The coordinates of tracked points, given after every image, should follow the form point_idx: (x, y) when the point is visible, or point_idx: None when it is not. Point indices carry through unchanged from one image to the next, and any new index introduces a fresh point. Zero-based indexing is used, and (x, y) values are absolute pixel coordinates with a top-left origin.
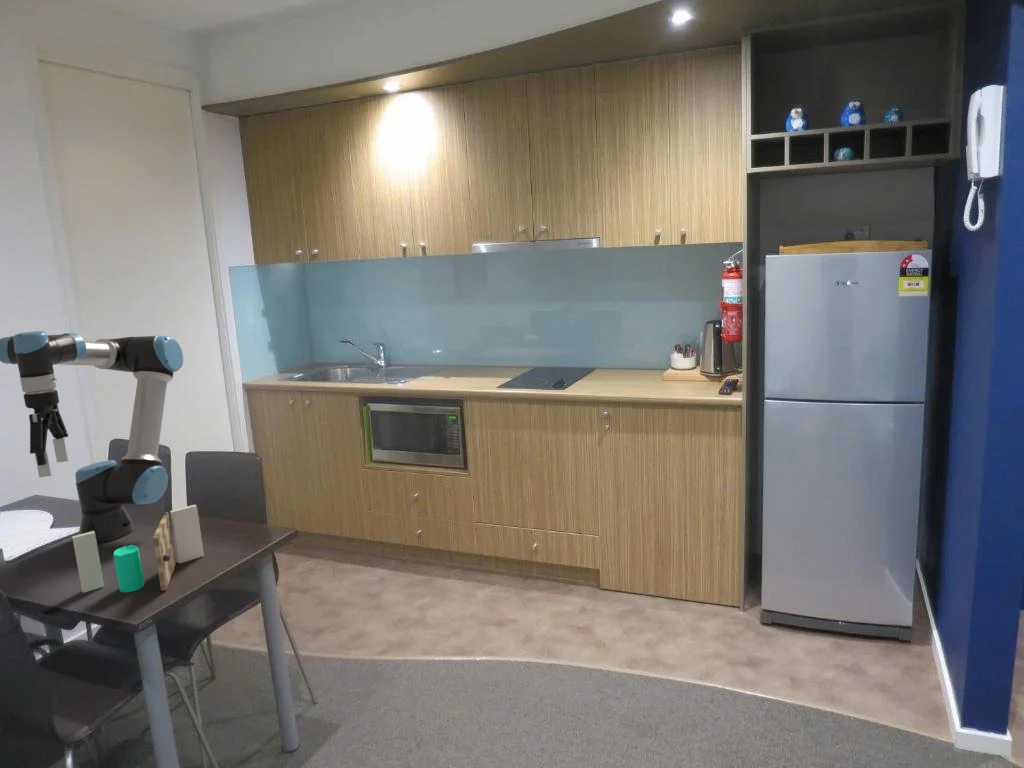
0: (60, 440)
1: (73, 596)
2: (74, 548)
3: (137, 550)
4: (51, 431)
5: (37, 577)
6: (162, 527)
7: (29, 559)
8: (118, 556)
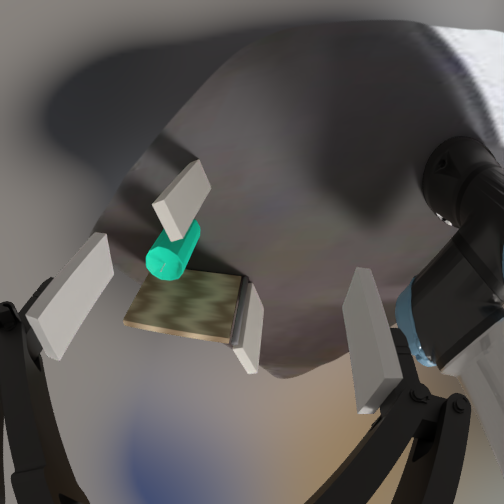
0: (363, 395)
1: (182, 149)
2: (171, 189)
3: (161, 279)
4: (360, 451)
5: (308, 70)
6: (165, 333)
7: (416, 52)
8: (147, 254)
